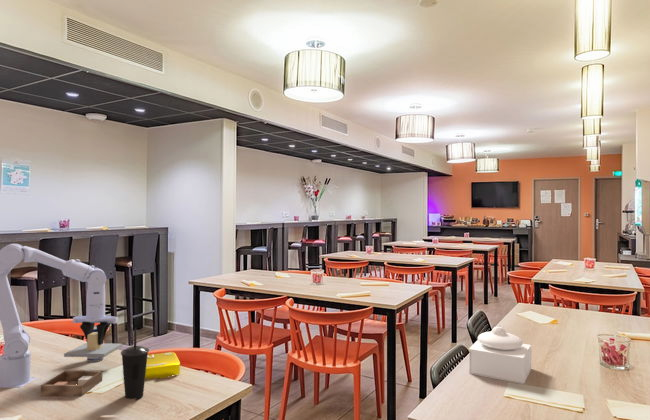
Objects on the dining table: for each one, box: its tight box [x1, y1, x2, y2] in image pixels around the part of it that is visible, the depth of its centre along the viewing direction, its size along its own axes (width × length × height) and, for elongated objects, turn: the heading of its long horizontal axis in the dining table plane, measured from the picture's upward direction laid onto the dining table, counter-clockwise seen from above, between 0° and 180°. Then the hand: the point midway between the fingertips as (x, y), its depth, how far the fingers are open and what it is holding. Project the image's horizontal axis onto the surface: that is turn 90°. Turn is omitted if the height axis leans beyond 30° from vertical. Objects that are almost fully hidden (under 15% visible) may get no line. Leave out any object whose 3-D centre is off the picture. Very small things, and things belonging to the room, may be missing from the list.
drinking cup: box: [120, 328, 150, 401], centre depth 130 cm, size 8×8×20 cm
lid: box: [63, 332, 123, 358], centre depth 150 cm, size 13×13×6 cm
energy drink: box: [86, 325, 105, 363], centre depth 162 cm, size 5×5×12 cm
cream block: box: [78, 376, 93, 385], centre depth 138 cm, size 3×3×2 cm
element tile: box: [145, 351, 181, 380], centre depth 151 cm, size 15×15×5 cm
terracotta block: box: [54, 382, 68, 385], centre depth 133 cm, size 3×3×2 cm
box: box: [40, 370, 103, 397], centre depth 135 cm, size 12×12×4 cm
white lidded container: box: [468, 326, 533, 385], centre depth 155 cm, size 18×18×16 cm
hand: (95, 344), depth 150 cm, fingers closed on lid, 3 cm apart
